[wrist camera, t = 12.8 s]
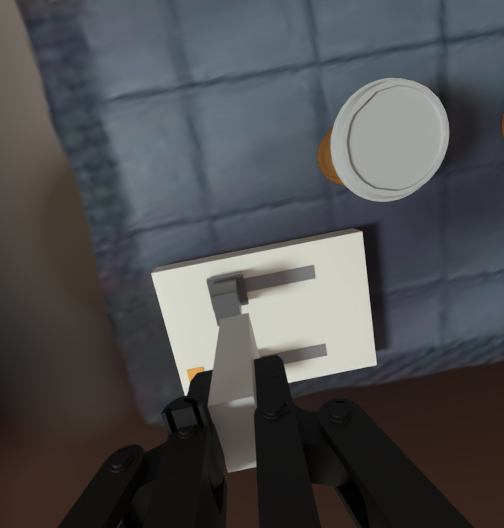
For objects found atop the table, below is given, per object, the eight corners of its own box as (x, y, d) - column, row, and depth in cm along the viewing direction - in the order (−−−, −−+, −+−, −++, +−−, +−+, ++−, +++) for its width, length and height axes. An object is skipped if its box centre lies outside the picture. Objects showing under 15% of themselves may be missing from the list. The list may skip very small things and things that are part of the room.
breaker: (242, 271, 36) (243, 287, 30) (248, 301, 36) (251, 322, 31) (207, 278, 35) (201, 296, 30) (214, 307, 36) (210, 330, 31)
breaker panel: (352, 228, 38) (362, 231, 35) (367, 352, 43) (377, 365, 40) (157, 266, 38) (150, 273, 35) (190, 388, 42) (187, 403, 39)
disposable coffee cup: (377, 99, 35) (447, 56, 24) (391, 185, 38) (461, 184, 26) (294, 123, 35) (323, 92, 24) (313, 207, 38) (348, 216, 26)
